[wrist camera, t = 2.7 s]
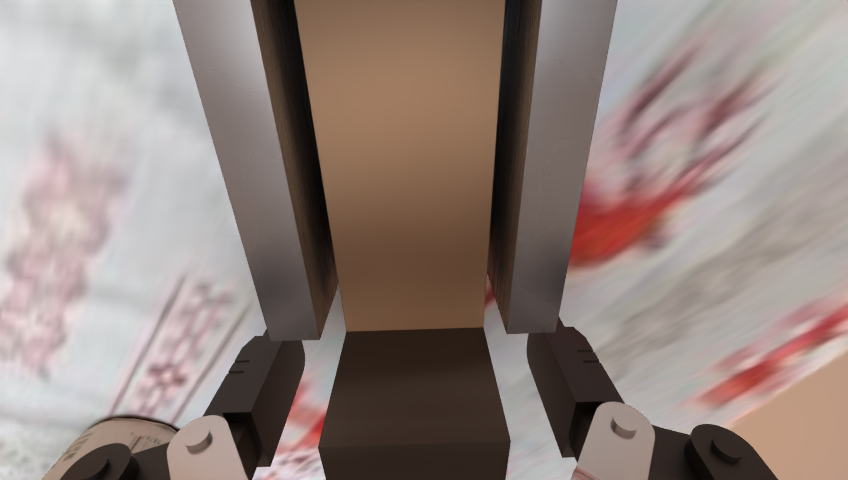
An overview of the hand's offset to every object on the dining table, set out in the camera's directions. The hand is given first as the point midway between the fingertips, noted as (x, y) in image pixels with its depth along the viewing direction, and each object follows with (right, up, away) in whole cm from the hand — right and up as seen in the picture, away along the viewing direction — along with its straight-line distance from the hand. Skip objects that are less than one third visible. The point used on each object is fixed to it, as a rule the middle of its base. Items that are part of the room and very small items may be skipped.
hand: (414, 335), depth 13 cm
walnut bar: (0, +5, 0) cm, 5 cm away
